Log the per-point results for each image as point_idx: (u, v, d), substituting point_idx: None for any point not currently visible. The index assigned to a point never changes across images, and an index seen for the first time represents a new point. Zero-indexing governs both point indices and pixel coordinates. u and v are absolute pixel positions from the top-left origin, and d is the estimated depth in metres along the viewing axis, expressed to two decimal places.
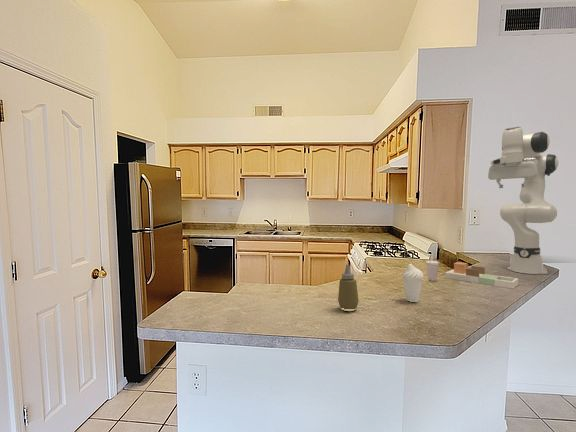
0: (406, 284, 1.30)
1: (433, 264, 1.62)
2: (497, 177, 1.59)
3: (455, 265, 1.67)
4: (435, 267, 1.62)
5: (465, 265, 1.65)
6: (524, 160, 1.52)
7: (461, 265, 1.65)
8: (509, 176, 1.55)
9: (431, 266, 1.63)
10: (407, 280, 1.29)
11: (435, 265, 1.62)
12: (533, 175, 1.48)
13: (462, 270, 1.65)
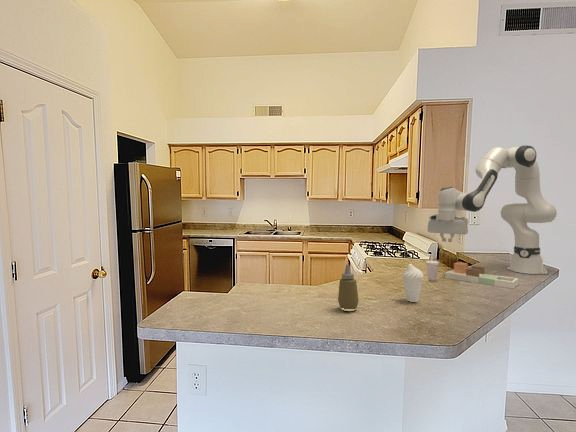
0: (406, 284, 1.30)
1: (433, 264, 1.62)
2: (434, 231, 1.75)
3: (455, 265, 1.67)
4: (435, 267, 1.62)
5: (465, 265, 1.65)
6: (456, 218, 1.67)
7: (461, 265, 1.65)
8: (444, 231, 1.71)
9: (431, 266, 1.63)
10: (407, 280, 1.29)
11: (435, 265, 1.62)
12: (463, 233, 1.64)
13: (462, 270, 1.65)
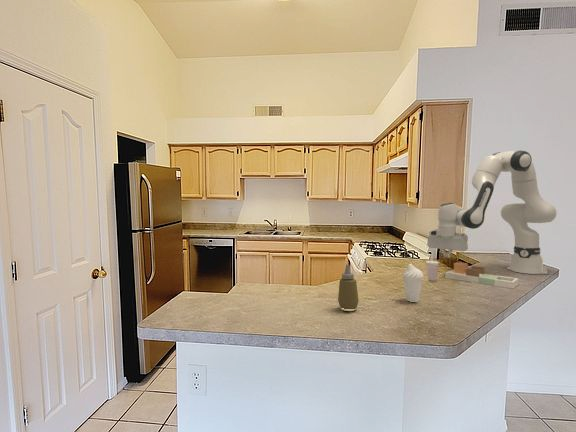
0: (406, 284, 1.30)
1: (433, 264, 1.62)
2: (434, 246, 1.75)
3: (455, 265, 1.67)
4: (435, 267, 1.62)
5: (465, 265, 1.65)
6: (456, 234, 1.68)
7: (461, 265, 1.65)
8: (444, 247, 1.71)
9: (431, 266, 1.63)
10: (407, 280, 1.29)
11: (435, 265, 1.62)
12: (463, 249, 1.64)
13: (462, 270, 1.65)
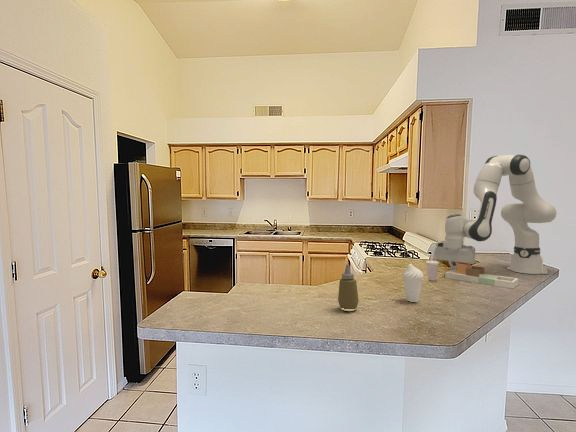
0: (406, 284, 1.30)
1: (433, 264, 1.62)
2: (441, 258, 1.73)
3: (458, 265, 1.66)
4: (435, 267, 1.62)
5: (468, 265, 1.64)
6: (463, 246, 1.66)
7: (464, 265, 1.64)
8: (451, 259, 1.69)
9: (431, 266, 1.63)
10: (407, 280, 1.29)
11: (435, 265, 1.62)
12: (470, 262, 1.62)
13: (465, 270, 1.63)
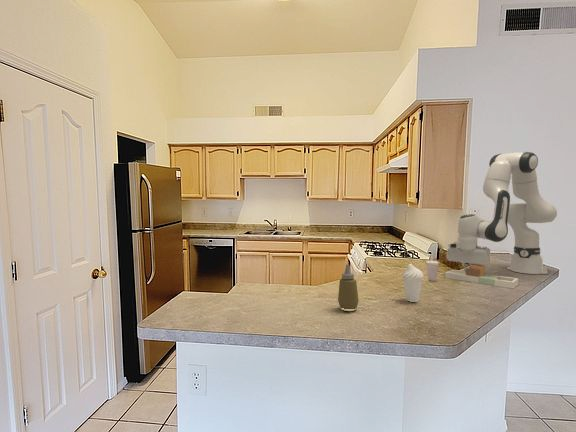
0: (406, 284, 1.30)
1: (433, 264, 1.62)
2: (454, 260, 1.68)
3: (472, 267, 1.61)
4: (435, 267, 1.62)
5: (482, 267, 1.59)
6: (477, 247, 1.60)
7: (478, 267, 1.58)
8: (464, 261, 1.64)
9: (431, 266, 1.63)
10: (407, 280, 1.29)
11: (435, 265, 1.62)
12: (485, 264, 1.57)
13: (479, 272, 1.58)
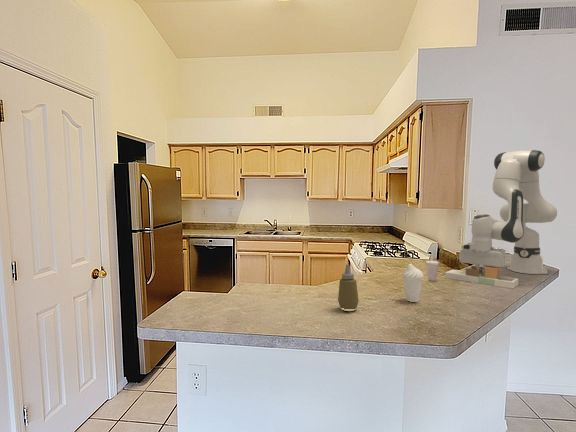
0: (406, 284, 1.30)
1: (433, 264, 1.62)
2: (467, 261, 1.63)
3: (486, 269, 1.56)
4: (435, 267, 1.62)
5: (497, 269, 1.54)
6: (492, 249, 1.56)
7: (493, 269, 1.54)
8: (478, 262, 1.59)
9: (431, 266, 1.63)
10: (407, 280, 1.29)
11: (435, 265, 1.62)
12: (500, 265, 1.52)
13: (494, 275, 1.53)
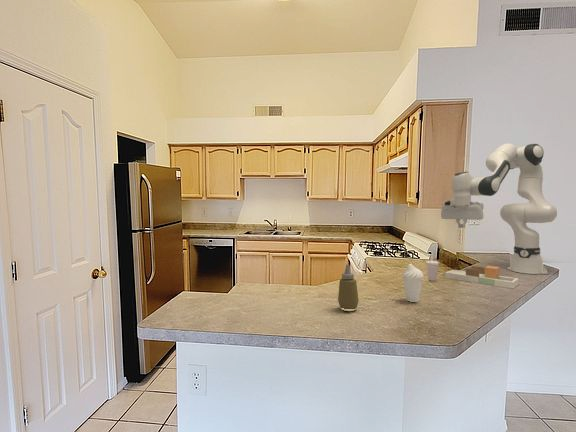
0: (406, 284, 1.30)
1: (433, 264, 1.62)
2: (448, 217, 1.72)
3: (486, 269, 1.56)
4: (435, 267, 1.62)
5: (497, 269, 1.54)
6: (471, 203, 1.65)
7: (493, 269, 1.54)
8: (458, 217, 1.68)
9: (431, 266, 1.63)
10: (407, 280, 1.29)
11: (435, 265, 1.62)
12: (478, 218, 1.61)
13: (494, 275, 1.53)
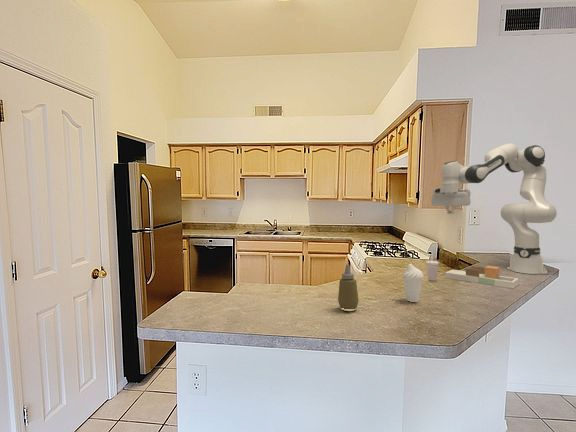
0: (406, 284, 1.30)
1: (433, 264, 1.62)
2: (438, 204, 1.82)
3: (486, 269, 1.56)
4: (435, 267, 1.62)
5: (497, 269, 1.54)
6: (459, 190, 1.75)
7: (493, 269, 1.54)
8: (447, 204, 1.79)
9: (431, 266, 1.63)
10: (407, 280, 1.29)
11: (435, 265, 1.62)
12: (466, 204, 1.72)
13: (494, 275, 1.53)
